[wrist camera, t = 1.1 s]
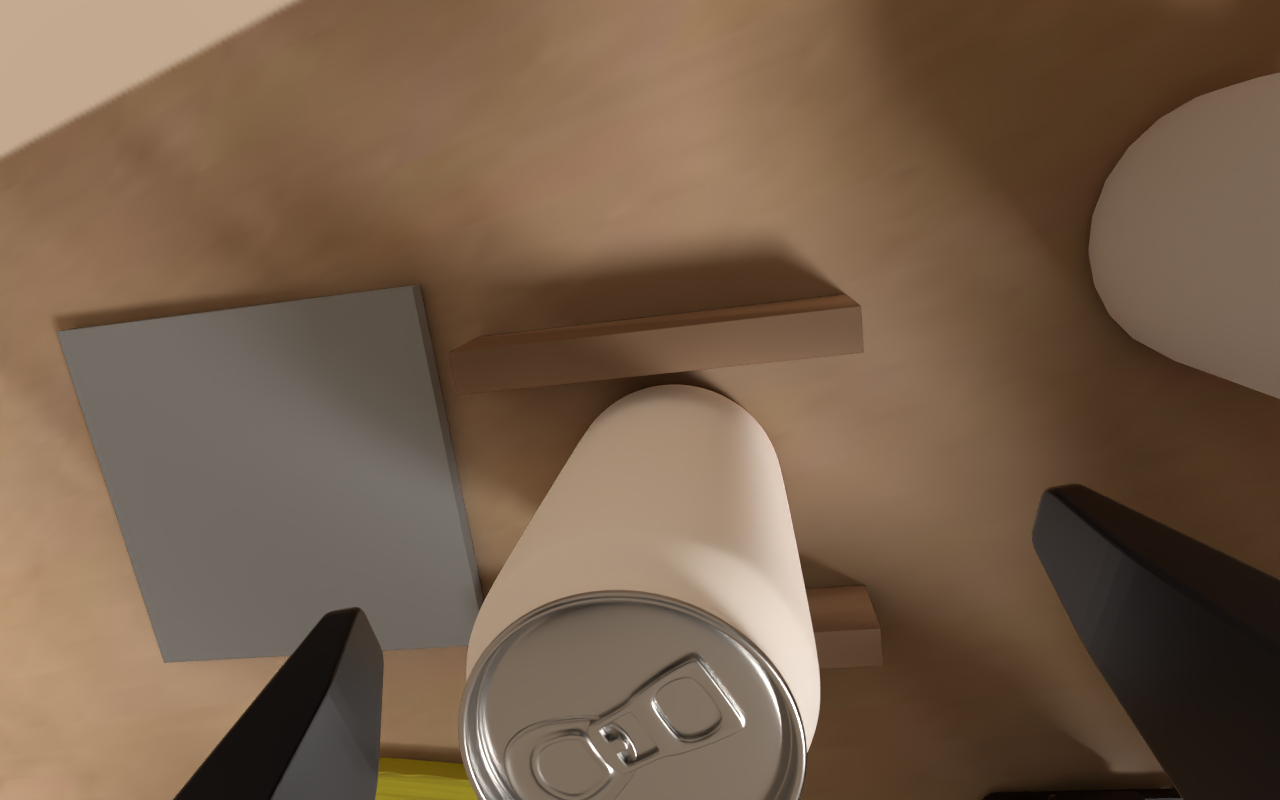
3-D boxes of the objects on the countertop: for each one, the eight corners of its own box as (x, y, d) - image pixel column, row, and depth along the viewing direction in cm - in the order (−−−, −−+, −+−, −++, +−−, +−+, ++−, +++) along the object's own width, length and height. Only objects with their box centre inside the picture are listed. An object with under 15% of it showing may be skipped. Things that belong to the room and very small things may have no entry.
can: (534, 450, 24) (353, 687, 12) (706, 339, 22) (683, 489, 11) (650, 607, 25) (582, 965, 13) (821, 511, 23) (915, 819, 12)
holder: (867, 619, 24) (882, 666, 22) (534, 637, 25) (514, 683, 23) (845, 294, 21) (860, 305, 19) (477, 336, 23) (448, 353, 21)
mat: (490, 635, 26) (485, 644, 25) (175, 653, 27) (164, 662, 27) (419, 284, 23) (411, 286, 22) (72, 328, 24) (56, 331, 24)
